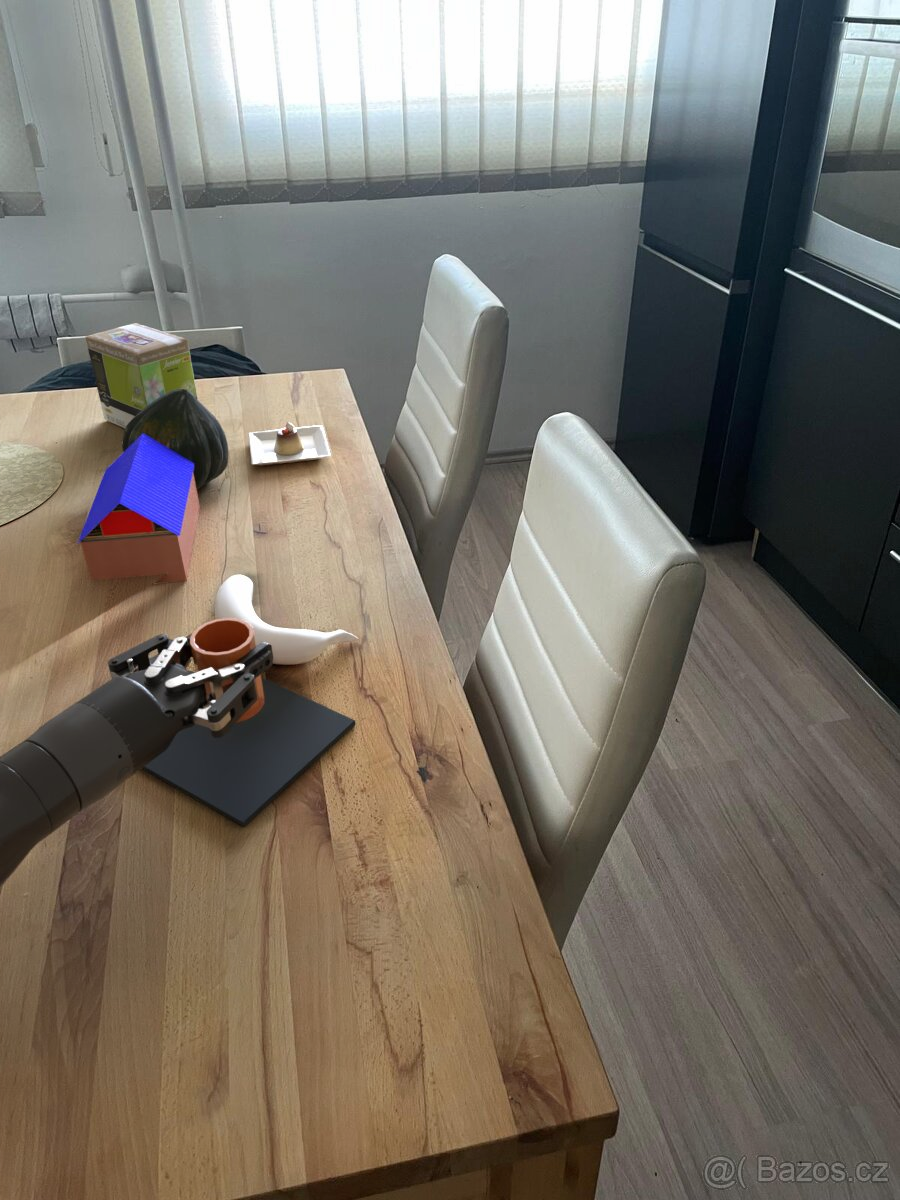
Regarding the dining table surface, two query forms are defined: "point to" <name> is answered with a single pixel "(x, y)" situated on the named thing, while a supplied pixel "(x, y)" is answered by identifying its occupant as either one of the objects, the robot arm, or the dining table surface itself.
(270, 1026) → the dining table surface
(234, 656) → the cup
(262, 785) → the mat
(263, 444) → the dessert
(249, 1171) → the dining table surface
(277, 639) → the banana
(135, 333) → the tea box
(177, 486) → the house
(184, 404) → the squash
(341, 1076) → the dining table surface
